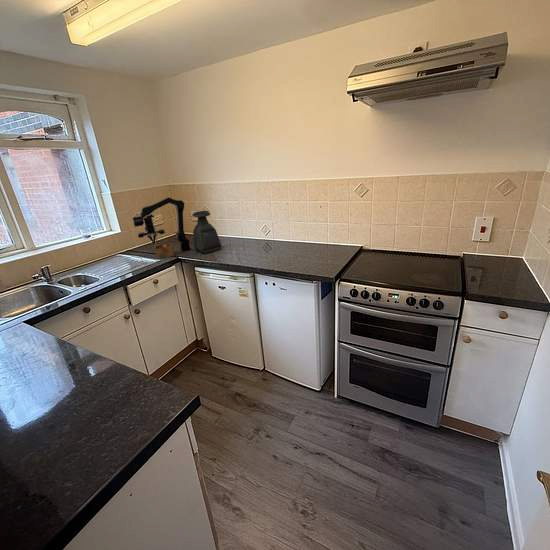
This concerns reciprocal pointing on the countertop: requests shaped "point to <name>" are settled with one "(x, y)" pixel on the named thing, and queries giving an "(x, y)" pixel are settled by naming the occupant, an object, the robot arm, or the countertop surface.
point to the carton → (164, 251)
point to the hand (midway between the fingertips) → (154, 244)
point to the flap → (155, 243)
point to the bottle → (205, 234)
